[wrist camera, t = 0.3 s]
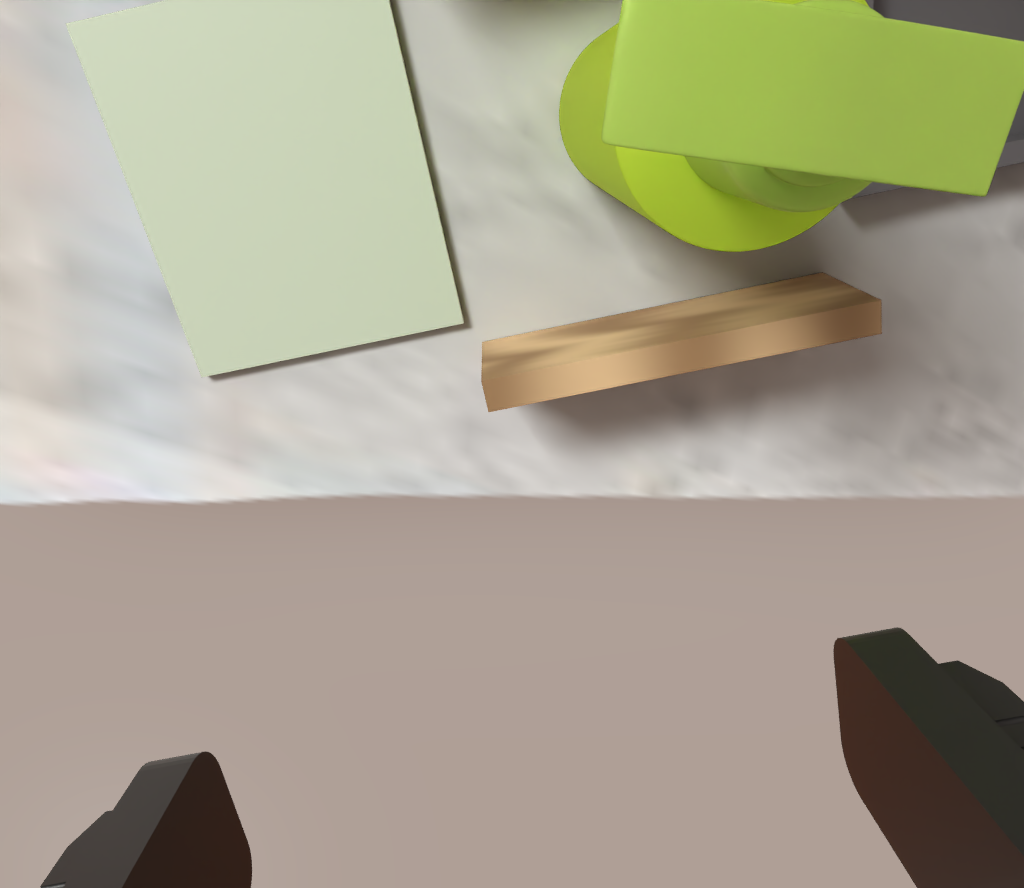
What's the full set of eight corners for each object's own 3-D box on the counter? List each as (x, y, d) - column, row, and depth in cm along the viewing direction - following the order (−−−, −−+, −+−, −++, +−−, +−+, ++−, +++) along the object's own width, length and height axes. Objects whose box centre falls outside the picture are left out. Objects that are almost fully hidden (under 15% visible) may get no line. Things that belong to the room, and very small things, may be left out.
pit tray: (832, 193, 29) (853, 197, 28) (824, -79, 26) (847, -92, 24) (1069, 143, 29) (1104, 145, 27) (1094, -141, 25) (1136, -158, 24)
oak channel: (488, 369, 32) (488, 412, 27) (376, -128, 25) (352, -182, 20) (823, 301, 31) (881, 333, 27) (803, -230, 24) (877, -310, 20)
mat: (205, 374, 32) (201, 377, 31) (71, 24, 26) (65, 23, 26) (464, 320, 31) (463, 323, 31) (378, -47, 26) (377, -50, 26)
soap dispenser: (543, 6, 27) (665, -232, 8) (734, 34, 27) (1247, -132, 9) (521, 181, 29) (580, 298, 11) (698, 205, 29) (1046, 354, 11)
